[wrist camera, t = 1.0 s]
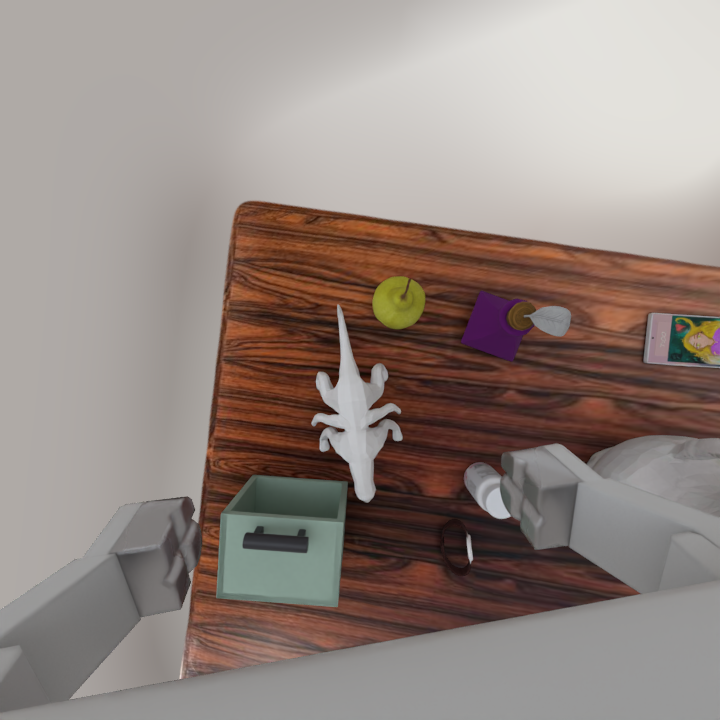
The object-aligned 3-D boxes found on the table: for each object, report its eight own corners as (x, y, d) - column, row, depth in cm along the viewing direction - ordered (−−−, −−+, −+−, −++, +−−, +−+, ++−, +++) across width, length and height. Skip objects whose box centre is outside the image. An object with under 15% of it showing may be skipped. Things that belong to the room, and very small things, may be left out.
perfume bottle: (454, 342, 52) (503, 343, 34) (473, 293, 51) (532, 267, 33) (503, 360, 52) (577, 371, 34) (522, 311, 51) (608, 295, 33)
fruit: (408, 337, 52) (421, 336, 40) (364, 318, 52) (364, 312, 40) (427, 292, 51) (447, 277, 39) (383, 273, 51) (389, 253, 39)
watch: (473, 564, 53) (481, 581, 50) (442, 568, 53) (447, 585, 50) (466, 514, 53) (474, 527, 49) (435, 518, 53) (440, 531, 49)
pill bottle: (483, 499, 53) (506, 529, 44) (456, 482, 53) (474, 508, 44) (502, 473, 53) (528, 498, 44) (475, 455, 52) (496, 477, 44)
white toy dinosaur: (326, 485, 53) (317, 519, 43) (300, 316, 52) (285, 310, 42) (407, 474, 53) (418, 505, 43) (383, 304, 51) (388, 295, 41)
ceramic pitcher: (522, 442, 53) (639, 544, 29) (647, 378, 51) (890, 428, 26) (591, 564, 54) (761, 763, 30) (716, 506, 52) (1013, 669, 28)
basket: (343, 547, 53) (335, 629, 38) (249, 540, 53) (204, 619, 38) (348, 481, 53) (342, 538, 38) (252, 474, 53) (208, 528, 38)
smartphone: (752, 370, 51) (646, 363, 51) (746, 370, 51) (642, 363, 51) (758, 319, 50) (651, 312, 50) (752, 319, 51) (647, 313, 51)
